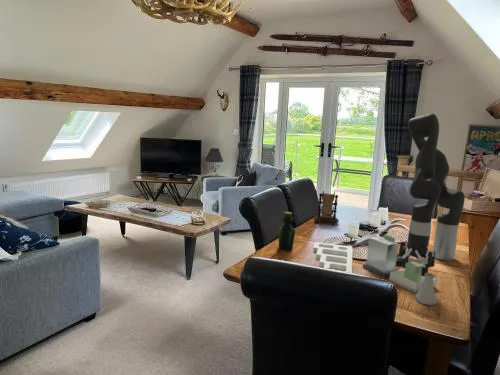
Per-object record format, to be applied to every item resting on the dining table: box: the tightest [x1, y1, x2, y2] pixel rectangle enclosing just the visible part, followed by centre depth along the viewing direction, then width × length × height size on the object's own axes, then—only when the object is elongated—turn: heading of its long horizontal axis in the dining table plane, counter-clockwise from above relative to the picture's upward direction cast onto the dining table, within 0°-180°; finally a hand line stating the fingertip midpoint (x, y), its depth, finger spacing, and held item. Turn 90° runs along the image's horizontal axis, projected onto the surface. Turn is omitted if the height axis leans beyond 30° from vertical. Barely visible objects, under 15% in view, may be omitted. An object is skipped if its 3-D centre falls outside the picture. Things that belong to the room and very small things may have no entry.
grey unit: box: [362, 234, 400, 279], centre depth 159 cm, size 10×12×15 cm
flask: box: [414, 272, 438, 306], centre depth 133 cm, size 7×7×10 cm
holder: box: [312, 241, 353, 274], centre depth 164 cm, size 45×18×3 cm, turn 164°
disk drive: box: [395, 253, 403, 267], centre depth 172 cm, size 10×3×15 cm
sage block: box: [404, 262, 423, 283], centre depth 147 cm, size 4×4×7 cm
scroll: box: [313, 190, 339, 226], centre depth 231 cm, size 15×15×20 cm
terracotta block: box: [403, 256, 422, 269], centre depth 159 cm, size 4×4×7 cm
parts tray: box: [389, 268, 438, 294], centre depth 148 cm, size 12×12×4 cm
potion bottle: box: [278, 211, 296, 252], centre depth 179 cm, size 8×8×18 cm
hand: (414, 271), depth 147 cm, fingers open, 8 cm apart
